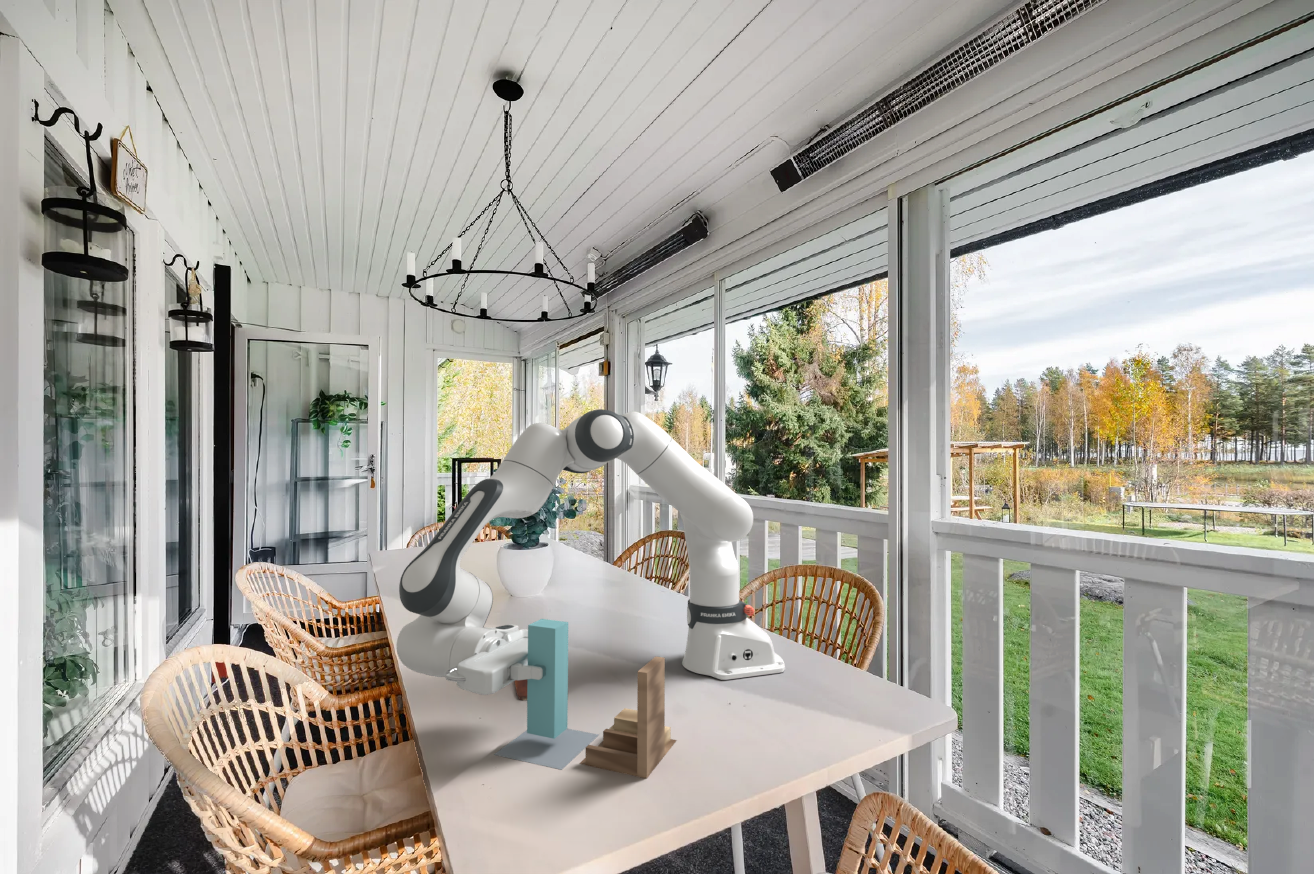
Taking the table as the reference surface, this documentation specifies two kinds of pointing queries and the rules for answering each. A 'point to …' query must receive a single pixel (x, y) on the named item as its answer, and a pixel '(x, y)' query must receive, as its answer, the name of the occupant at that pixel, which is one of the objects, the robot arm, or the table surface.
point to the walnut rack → (649, 743)
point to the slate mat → (548, 748)
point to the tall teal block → (548, 678)
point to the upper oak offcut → (626, 721)
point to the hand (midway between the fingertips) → (552, 667)
